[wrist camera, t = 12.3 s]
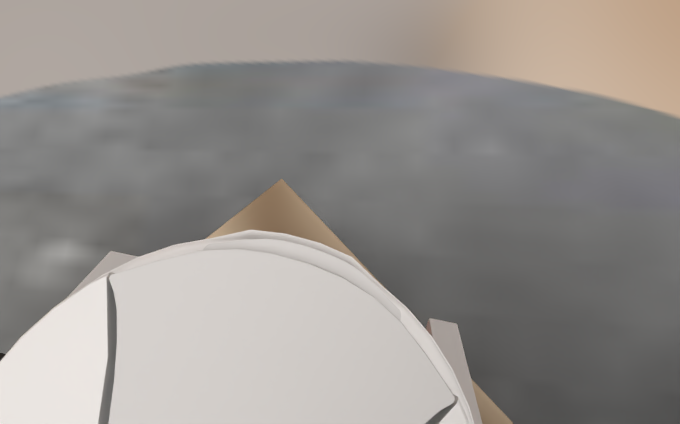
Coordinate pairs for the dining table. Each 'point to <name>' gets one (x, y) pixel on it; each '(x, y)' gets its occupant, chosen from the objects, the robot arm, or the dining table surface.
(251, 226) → the wooden step stool
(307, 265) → the paper cup
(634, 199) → the dining table surface
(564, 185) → the dining table surface
